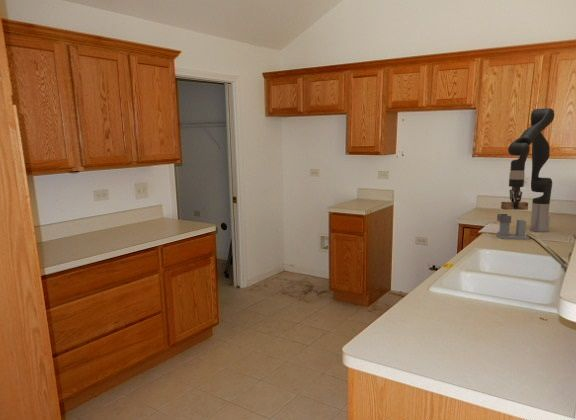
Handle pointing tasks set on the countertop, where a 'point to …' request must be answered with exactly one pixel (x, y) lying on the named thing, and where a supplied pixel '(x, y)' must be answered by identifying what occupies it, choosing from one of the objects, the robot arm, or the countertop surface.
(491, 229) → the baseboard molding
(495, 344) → the countertop surface
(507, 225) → the bracket stand
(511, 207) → the rail
